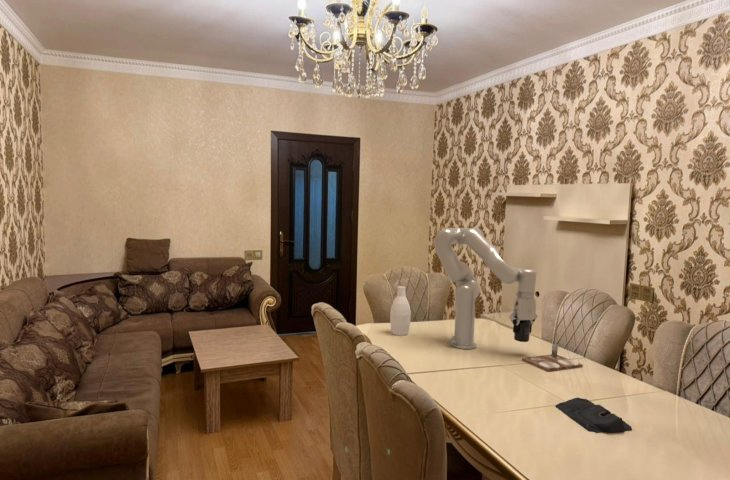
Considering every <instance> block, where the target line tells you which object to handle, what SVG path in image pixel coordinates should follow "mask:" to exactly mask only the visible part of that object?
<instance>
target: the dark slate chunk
mask: <svg viewBox="0 0 730 480" xmlns="http://www.w3.org/2000/svg"><path fill="white" fill-rule="evenodd" d="M555 407H556V408H557V409H558V410H559V411H560V412H562V413H563V414H564V415H565V416H567V417H568V418H569V419H571V420H572V421H573V422H575V423H576V424H578V425H579V426H580V427H582V428H583V429H584V430H586V431H588V432H593V433H595V434H604V433H606V434H617V433H618V434H619V433H624V432H627V431H630V430H632V429H633V428H632V426H631V425H630V424H628V423H627V422H626V421H624V420H623V418H622V417H619V416H617V415H616V414H615V413H612V412H611V411H610V410H608V409H607V408H605V407H604V406H602V405H600V404H595V403H594V402H592V401H591V400H589V399H587V398H582V397H581V398H580V397H573V398H571V399H568V400H567V401H563V402H559V403H557V404H556V405H555Z"/></svg>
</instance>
